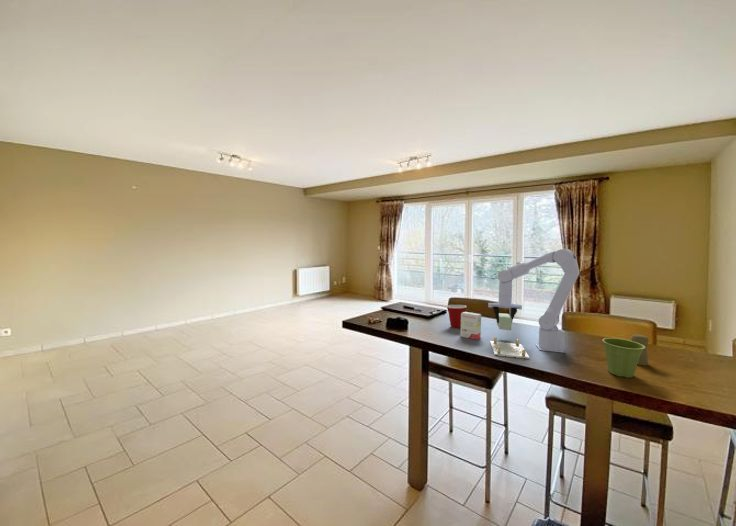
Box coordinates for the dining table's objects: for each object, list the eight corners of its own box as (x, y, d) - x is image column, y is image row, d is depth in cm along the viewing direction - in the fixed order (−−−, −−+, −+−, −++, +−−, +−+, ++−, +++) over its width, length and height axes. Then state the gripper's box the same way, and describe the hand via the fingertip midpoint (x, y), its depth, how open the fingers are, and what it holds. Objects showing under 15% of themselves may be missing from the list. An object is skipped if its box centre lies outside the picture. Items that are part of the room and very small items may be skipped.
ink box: (481, 337, 153) (482, 313, 152) (477, 340, 149) (478, 315, 148) (464, 334, 158) (464, 311, 157) (459, 336, 154) (460, 312, 154)
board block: (508, 324, 154) (508, 313, 154) (511, 330, 145) (511, 318, 144) (497, 324, 156) (497, 313, 155) (499, 329, 146) (500, 317, 146)
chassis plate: (521, 345, 141) (521, 339, 141) (529, 359, 125) (529, 351, 125) (490, 342, 145) (490, 336, 145) (494, 355, 129) (494, 348, 128)
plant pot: (597, 373, 112) (599, 342, 111) (603, 364, 120) (605, 335, 120) (641, 384, 104) (643, 351, 103) (644, 374, 112) (646, 343, 111)
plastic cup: (453, 323, 179) (454, 302, 179) (470, 327, 171) (471, 305, 170) (441, 326, 172) (442, 304, 172) (458, 330, 164) (459, 308, 163)
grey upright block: (624, 360, 125) (626, 333, 124) (634, 359, 127) (636, 332, 126) (642, 366, 119) (644, 338, 118) (652, 364, 121) (654, 336, 121)
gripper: (520, 294, 151) (519, 322, 152) (488, 292, 155) (487, 320, 156) (523, 296, 144) (522, 326, 145) (489, 295, 148) (488, 323, 149)
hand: (504, 323), depth 150 cm, fingers closed on board block, 5 cm apart
